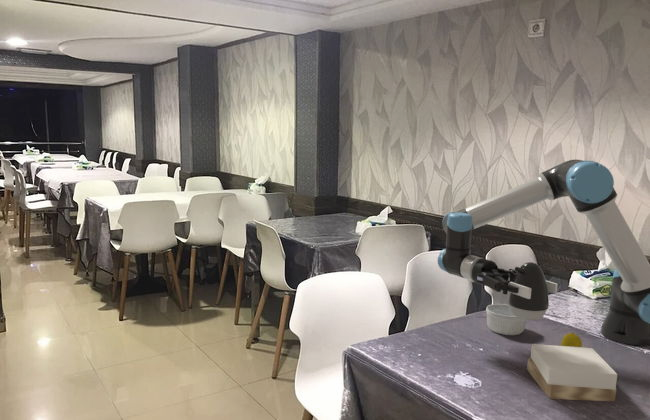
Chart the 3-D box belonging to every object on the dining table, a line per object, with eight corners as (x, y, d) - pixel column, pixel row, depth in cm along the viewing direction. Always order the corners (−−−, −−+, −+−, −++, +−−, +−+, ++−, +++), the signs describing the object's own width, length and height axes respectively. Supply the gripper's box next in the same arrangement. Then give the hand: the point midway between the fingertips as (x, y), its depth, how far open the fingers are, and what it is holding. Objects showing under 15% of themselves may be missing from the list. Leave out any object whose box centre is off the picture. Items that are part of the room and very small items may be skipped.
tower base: (584, 373, 146) (586, 360, 145) (614, 403, 130) (616, 388, 129) (526, 371, 146) (528, 358, 146) (549, 400, 130) (551, 385, 130)
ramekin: (517, 323, 183) (518, 303, 182) (532, 337, 170) (534, 317, 169) (479, 322, 183) (481, 303, 182) (492, 336, 170) (494, 316, 169)
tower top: (590, 361, 144) (592, 348, 144) (615, 389, 129) (617, 374, 128) (530, 357, 146) (531, 343, 145) (547, 384, 130) (549, 369, 130)
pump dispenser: (498, 313, 143) (502, 259, 141) (527, 309, 147) (531, 256, 145) (525, 326, 134) (530, 268, 132) (555, 321, 138) (561, 265, 136)
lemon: (572, 363, 151) (574, 337, 150) (555, 356, 156) (558, 330, 155) (584, 360, 153) (587, 334, 152) (568, 353, 158) (570, 328, 157)
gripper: (505, 278, 161) (569, 299, 141) (450, 287, 150) (512, 311, 131) (507, 254, 160) (572, 272, 140) (452, 261, 149) (514, 282, 130)
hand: (543, 291), depth 136 cm, fingers closed on pump dispenser, 9 cm apart
